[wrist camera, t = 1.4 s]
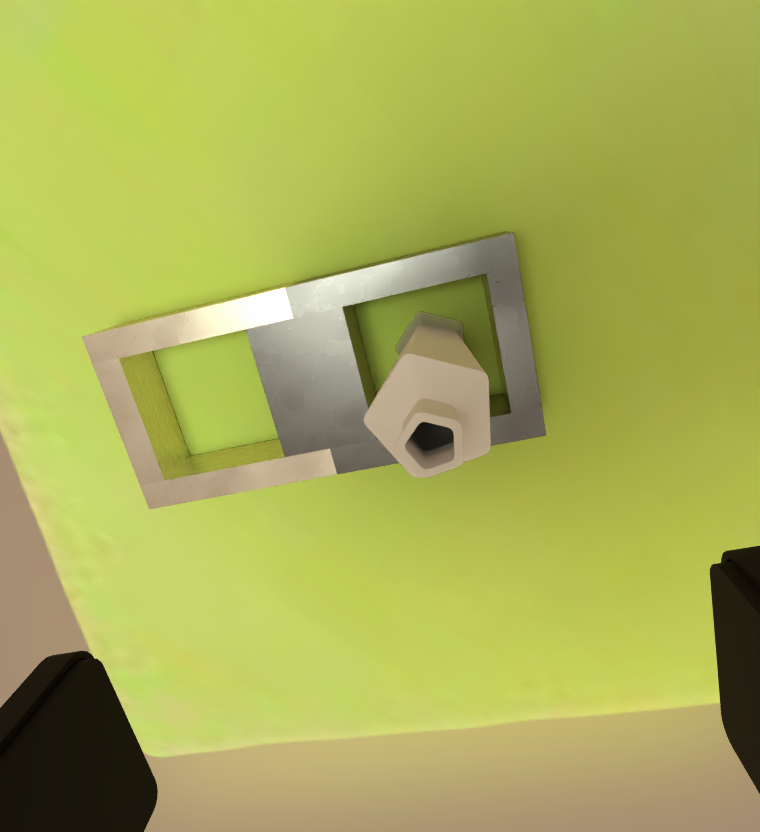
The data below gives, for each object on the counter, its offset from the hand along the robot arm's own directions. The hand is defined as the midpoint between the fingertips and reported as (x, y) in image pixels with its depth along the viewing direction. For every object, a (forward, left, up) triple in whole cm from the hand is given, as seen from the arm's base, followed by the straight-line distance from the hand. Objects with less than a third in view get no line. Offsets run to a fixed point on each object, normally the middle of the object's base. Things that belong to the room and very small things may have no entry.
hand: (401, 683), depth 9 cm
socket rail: (+6, 0, -25) cm, 25 cm away
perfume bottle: (0, 0, -25) cm, 25 cm away
